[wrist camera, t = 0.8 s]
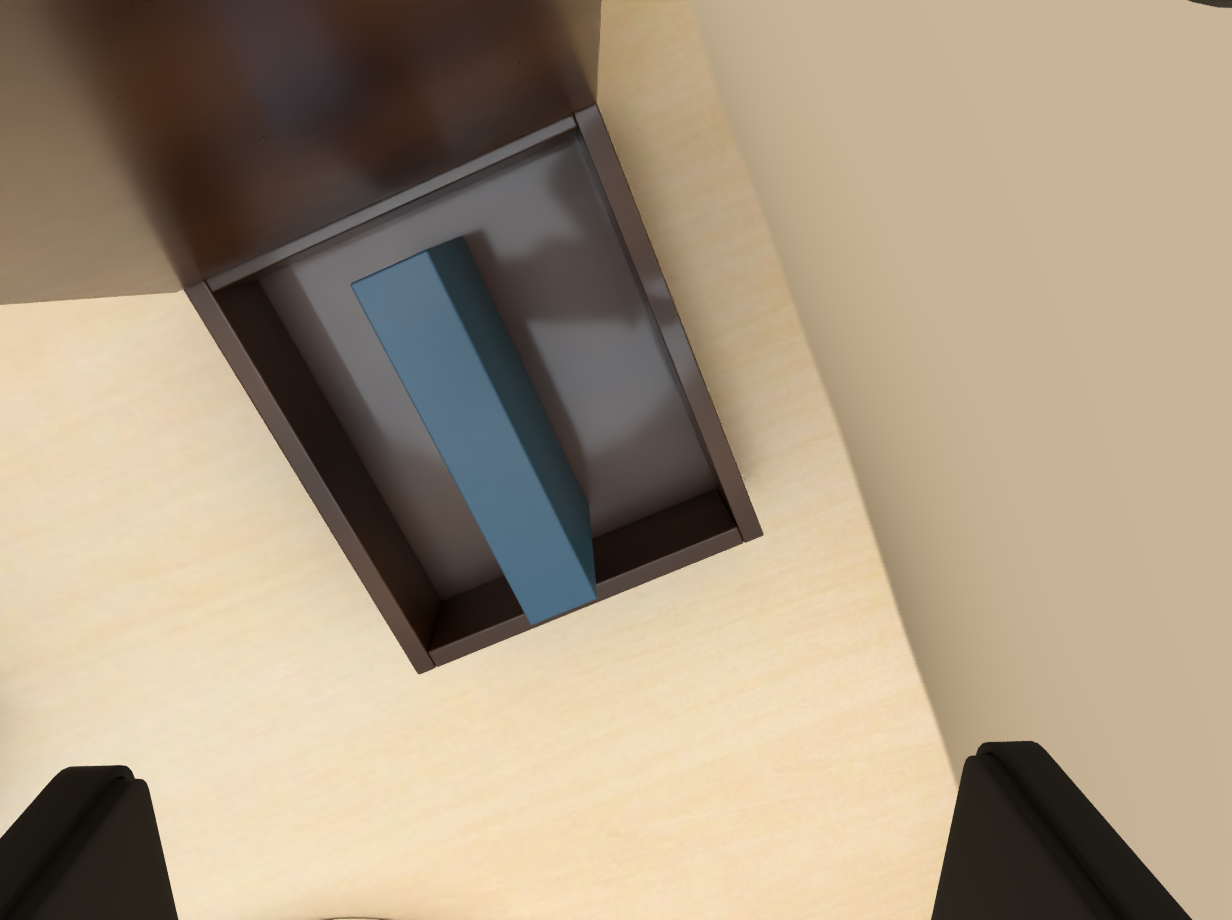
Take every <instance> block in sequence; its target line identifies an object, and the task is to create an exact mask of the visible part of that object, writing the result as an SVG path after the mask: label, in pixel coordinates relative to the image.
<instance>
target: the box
mask: <svg viewBox="0 0 1232 920" xmlns="http://www.w3.org/2000/svg"><path fill="white" fill-rule="evenodd" d="M459 236H462V237H463V238H464V240H465V242H466V244H467V246H468V249H469V251H470V253H471V255H472V257H473V259H474V261H475V263H476V266H477V268H478V270H479V272H480V274H481V276H482V278H483V280H484V283H485V285H486V287H487V289H488V291H489V293H490V295H491V297H492V300H493V302H494V304H495V306H496V308H497V310H498V312H499V314H500V317H501V319H502V321H503V323H504V325H505V327H506V329H507V331H508V334H509V336H510V338H511V340H512V342H513V344H514V346H515V348H516V351H517V353H518V355H519V357H520V359H521V361H522V363H523V366H524V368H525V370H526V372H527V374H528V376H529V378H530V380H531V383H532V385H533V387H534V389H535V391H536V393H537V395H538V397H539V400H540V402H541V404H542V406H543V408H544V410H545V412H546V414H547V417H548V419H549V421H550V423H551V425H552V427H553V429H554V431H555V434H556V436H557V438H558V440H559V442H560V444H561V446H562V448H563V451H564V453H565V455H566V457H567V459H568V461H569V463H570V465H571V468H572V470H573V472H574V474H575V476H576V478H577V480H578V482H579V485H580V487H581V489H582V491H583V493H584V495H585V497H586V500H587V502H588V504H589V511H590V523H591V534H592V545H593V557H594V568H595V579H596V591H597V599H595V600H593V601H590V602H588V603H585V604H583V605H580V606H578V607H575V608H573V609H570V610H568V611H566V612H563V613H561V614H558V615H556V616H553V617H551V618H548V619H546V620H543V621H541V622H538V623H536V624H533V625H531V624H530V622H529V620H528V619H527V617H526V615H525V613H524V611H523V609H522V607H521V605H520V604H519V602H518V600H517V598H516V596H515V594H514V592H513V590H512V589H511V587H510V585H509V583H508V581H507V579H506V577H505V575H504V573H503V572H502V570H501V568H500V566H499V564H498V562H497V560H496V558H495V557H494V555H493V553H492V551H491V549H490V547H489V545H488V543H487V542H486V540H485V538H484V536H483V534H482V532H481V530H480V528H479V527H478V525H477V523H476V521H475V519H474V517H473V515H472V513H471V511H470V510H469V508H468V506H467V504H466V502H465V500H464V498H463V496H462V495H461V493H460V491H459V489H458V487H457V485H456V483H455V481H454V480H453V478H452V476H451V474H450V472H449V470H448V468H447V466H446V465H445V463H444V461H443V459H442V457H441V455H440V453H439V451H438V449H437V448H436V446H435V444H434V442H433V440H432V438H431V436H430V434H429V433H428V431H427V429H426V427H425V425H424V423H423V421H422V419H421V418H420V416H419V414H418V412H417V410H416V408H415V406H414V404H413V403H412V401H411V399H410V397H409V395H408V393H407V391H406V389H405V387H404V386H403V384H402V382H401V380H400V378H399V376H398V374H397V372H396V371H395V369H394V367H393V365H392V363H391V361H390V359H389V357H388V356H387V354H386V352H385V350H384V348H383V346H382V344H381V342H380V341H379V339H378V337H377V335H376V333H375V331H374V329H373V327H372V325H371V324H370V322H369V320H368V318H367V316H366V314H365V312H364V310H363V309H362V307H361V305H360V303H359V301H358V299H357V297H356V295H355V294H354V292H353V290H352V288H351V285H350V284H351V283H352V282H355V281H357V280H359V279H361V278H364V277H366V276H368V275H370V274H373V273H375V272H377V271H379V270H382V269H384V268H386V267H388V266H390V265H393V264H395V263H397V262H399V261H402V260H404V259H406V258H408V257H411V256H413V255H415V254H417V253H420V252H422V251H424V250H426V249H429V248H431V247H434V246H437V245H439V244H442V243H444V242H447V241H449V240H452V239H454V238H457V237H459ZM184 291H185V293H186V294H187V296H188V298H189V299H190V301H191V303H192V304H193V306H194V307H195V309H196V311H197V312H198V314H199V316H200V317H201V319H202V321H203V322H204V324H205V326H206V327H207V329H208V330H209V332H210V334H211V335H212V337H213V339H214V340H215V342H216V344H217V345H218V347H219V348H220V350H221V352H222V353H223V355H224V357H225V358H226V360H227V362H228V363H229V365H230V367H231V368H232V370H233V371H234V373H235V375H236V376H237V378H238V380H239V381H240V383H241V385H242V386H243V388H244V389H245V391H246V393H247V394H248V396H249V398H250V399H251V401H252V403H253V404H254V406H255V408H256V409H257V411H258V412H259V414H260V416H261V417H262V419H263V421H264V422H265V424H266V426H267V427H268V429H269V430H270V432H271V434H272V435H273V437H274V439H275V440H276V442H277V444H278V445H279V447H280V449H281V450H282V452H283V453H284V455H285V457H286V458H287V460H288V462H289V463H290V465H291V467H292V468H293V470H294V471H295V473H296V475H297V476H298V478H299V480H300V481H301V483H302V485H303V486H304V488H305V490H306V491H307V493H308V494H309V496H310V498H311V499H312V501H313V503H314V504H315V506H316V508H317V509H318V511H319V513H320V514H321V516H322V517H323V519H324V521H325V522H326V524H327V526H328V527H329V529H330V531H331V532H332V534H333V535H334V537H335V539H336V540H337V542H338V544H339V545H340V547H341V549H342V550H343V552H344V554H345V555H346V557H347V558H348V560H349V562H350V563H351V565H352V567H353V568H354V570H355V572H356V573H357V575H358V576H359V578H360V580H361V581H362V583H363V585H364V586H365V588H366V590H367V591H368V593H369V595H370V596H371V598H372V599H373V601H374V603H375V604H376V606H377V608H378V609H379V611H380V613H381V614H382V616H383V617H384V619H385V621H386V622H387V624H388V626H389V627H390V629H391V631H392V632H393V634H394V636H395V637H396V639H397V640H398V642H399V644H400V645H401V647H402V649H403V650H404V652H405V654H406V655H407V657H408V658H409V660H410V662H411V663H412V665H413V667H414V668H415V670H416V672H417V673H418V674H422V673H424V672H427V671H429V670H432V669H434V668H435V667H436V666H437V667H439V666H441V665H444V664H446V663H449V662H451V661H454V660H456V659H459V658H461V657H463V656H466V655H468V654H471V653H473V652H476V651H478V650H481V649H483V648H486V647H488V646H491V645H493V644H496V643H498V642H500V641H503V640H505V639H508V638H510V637H513V636H515V635H518V634H520V633H523V632H525V631H528V630H530V629H533V628H535V627H537V626H540V625H542V624H545V623H547V622H550V621H552V620H555V619H557V618H560V617H562V616H565V615H567V614H570V613H572V612H575V611H577V610H579V609H582V608H584V607H587V606H589V605H592V604H594V603H597V602H599V601H602V600H604V599H607V598H609V597H612V596H614V595H616V594H619V593H621V592H624V591H626V590H629V589H631V588H634V587H636V586H639V585H641V584H644V583H646V582H649V581H651V580H653V579H656V578H658V577H661V576H663V575H666V574H668V573H671V572H673V571H676V570H678V569H681V568H683V567H686V566H688V565H690V564H693V563H695V562H698V561H700V560H703V559H705V558H708V557H710V556H713V555H715V554H718V553H720V552H723V551H725V550H728V549H730V548H732V547H735V546H737V545H740V544H742V543H743V541H744V542H745V543H746V542H748V541H751V540H753V539H756V538H758V537H761V536H763V532H762V529H761V526H760V524H759V521H758V519H757V516H756V513H755V511H754V508H753V506H752V503H751V501H750V498H749V495H748V493H747V490H746V488H745V485H744V483H743V480H742V477H741V475H740V472H739V470H738V467H737V464H736V462H735V459H734V457H733V454H732V452H731V449H730V446H729V444H728V441H727V439H726V436H725V433H724V431H723V428H722V426H721V423H720V421H719V418H718V415H717V413H716V410H715V408H714V405H713V402H712V400H711V397H710V395H709V392H708V390H707V387H706V384H705V382H704V379H703V377H702V374H701V371H700V369H699V366H698V364H697V361H696V359H695V356H694V353H693V351H692V348H691V346H690V343H689V340H688V338H687V335H686V333H685V330H684V328H683V325H682V322H681V320H680V317H679V315H678V312H677V309H676V307H675V304H674V302H673V299H672V297H671V294H670V291H669V289H668V286H667V284H666V281H665V278H664V276H663V273H662V271H661V268H660V266H659V263H658V260H657V258H656V255H655V253H654V250H653V247H652V245H651V242H650V240H649V237H648V235H647V232H646V229H645V227H644V224H643V222H642V219H641V216H640V214H639V211H638V209H637V206H636V204H635V201H634V198H633V196H632V193H631V191H630V188H629V185H628V183H627V180H626V178H625V175H624V173H623V170H622V167H621V165H620V162H619V160H618V157H617V154H616V152H615V149H614V147H613V144H612V142H611V139H610V136H609V134H608V131H607V129H606V126H605V123H604V121H603V118H602V116H601V113H600V111H599V108H598V105H597V103H596V102H595V103H592V104H590V105H588V106H586V107H584V108H581V109H579V110H577V111H575V112H573V113H570V114H568V115H566V116H564V117H562V118H559V119H557V120H555V121H553V122H551V123H548V124H546V125H544V126H542V127H540V128H537V129H535V130H533V131H531V132H529V133H526V134H524V135H522V136H520V137H517V138H515V139H513V140H511V141H509V142H506V143H504V144H502V145H500V146H498V147H495V148H493V149H491V150H489V151H487V152H484V153H482V154H480V155H478V156H476V157H473V158H471V159H469V160H467V161H465V162H462V163H460V164H458V165H456V166H454V167H451V168H449V169H447V170H445V171H443V172H440V173H438V174H436V175H434V176H432V177H429V178H427V179H425V180H423V181H421V182H418V183H416V184H414V185H412V186H410V187H407V188H405V189H403V190H401V191H399V192H396V193H394V194H392V195H390V196H388V197H385V198H383V199H381V200H379V201H376V202H374V203H372V204H370V205H368V206H365V207H363V208H361V209H359V210H357V211H354V212H352V213H350V214H348V215H346V216H343V217H341V218H339V219H337V220H335V221H332V222H330V223H328V224H326V225H324V226H321V227H319V228H317V229H315V230H313V231H310V232H308V233H306V234H304V235H302V236H299V237H297V238H295V239H293V240H291V241H288V242H286V243H284V244H282V245H280V246H277V247H275V248H273V249H271V250H269V251H266V252H264V253H262V254H260V255H258V256H255V257H253V258H251V259H249V260H246V261H244V262H242V263H240V264H238V265H235V266H233V267H231V268H229V269H227V270H224V271H222V272H220V273H218V274H216V275H213V276H211V277H209V278H207V279H205V280H202V281H200V282H198V283H196V284H194V285H191V286H189V287H187V288H185V289H184Z"/></svg>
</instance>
